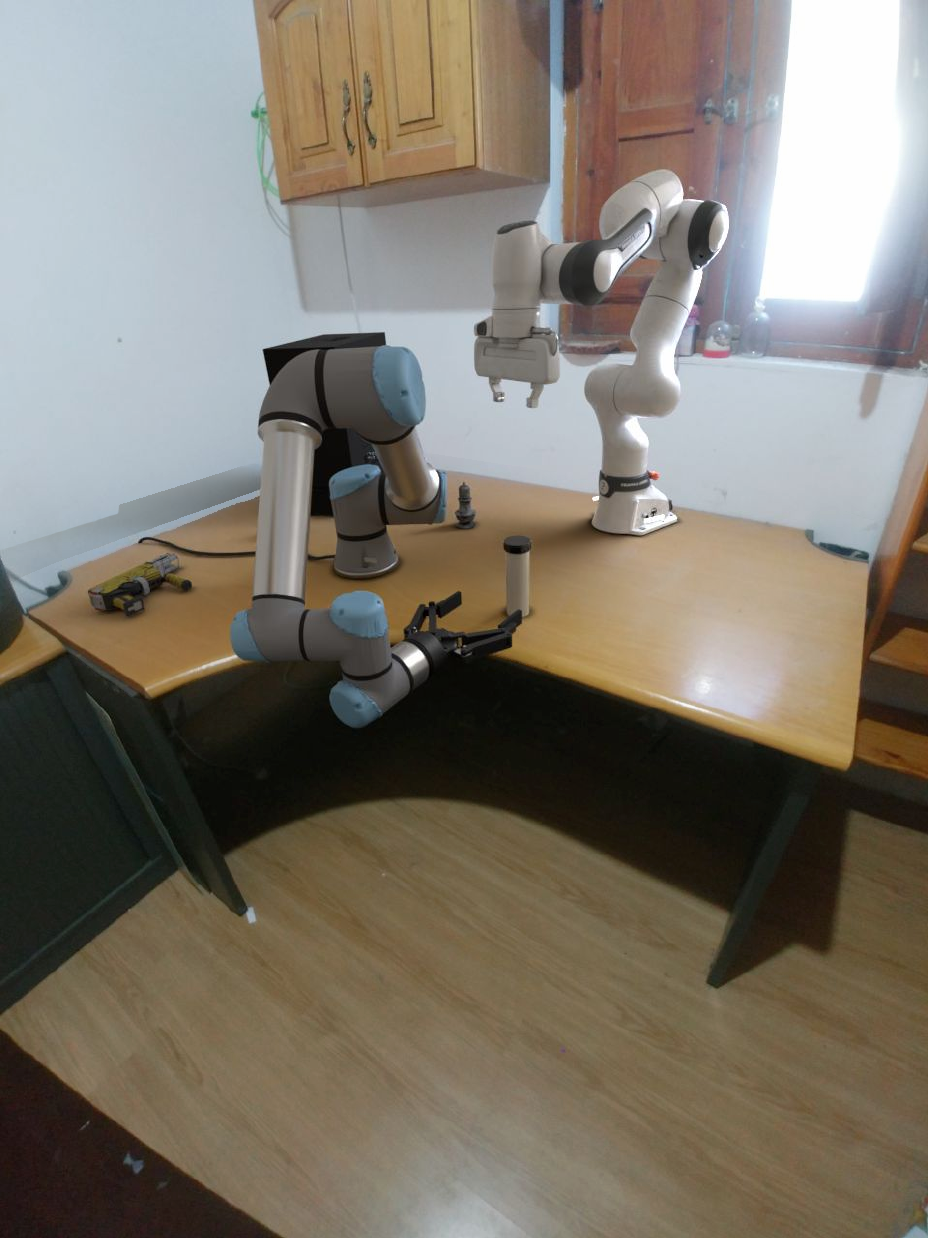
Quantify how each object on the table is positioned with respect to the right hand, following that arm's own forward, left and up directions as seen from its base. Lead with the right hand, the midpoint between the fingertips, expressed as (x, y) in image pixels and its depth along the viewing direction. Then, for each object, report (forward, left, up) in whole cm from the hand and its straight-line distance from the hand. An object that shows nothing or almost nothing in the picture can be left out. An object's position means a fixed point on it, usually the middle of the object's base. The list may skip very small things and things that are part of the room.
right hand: (515, 404), depth 118 cm
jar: (+8, +15, -37) cm, 41 cm away
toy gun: (+75, -34, -37) cm, 90 cm away
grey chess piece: (-3, -34, -37) cm, 50 cm away
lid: (+8, +15, -22) cm, 28 cm away
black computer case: (+17, -78, -37) cm, 88 cm away
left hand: (+17, +20, -31) cm, 40 cm away
